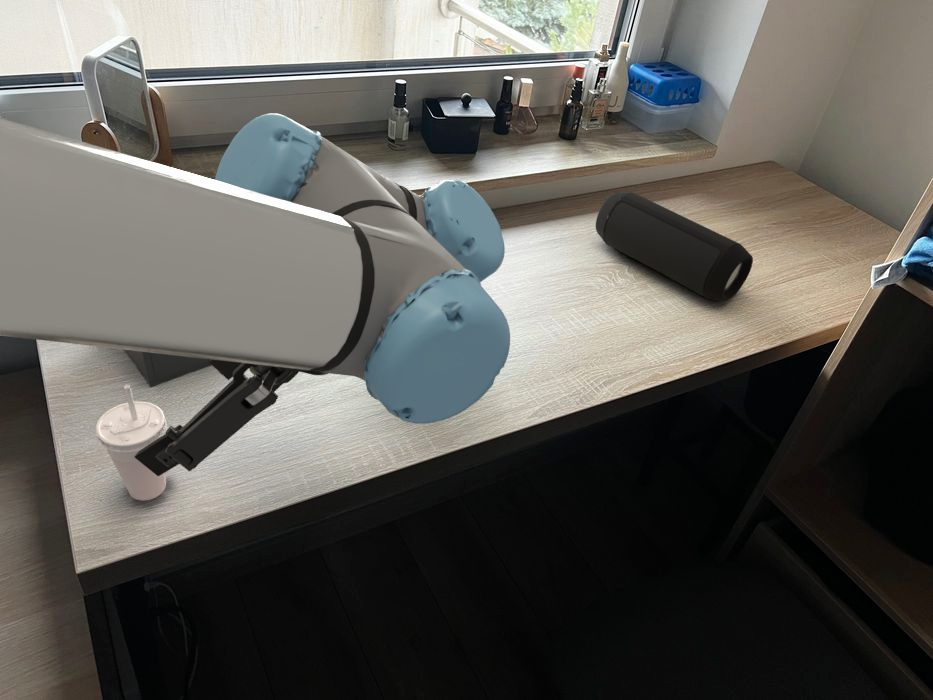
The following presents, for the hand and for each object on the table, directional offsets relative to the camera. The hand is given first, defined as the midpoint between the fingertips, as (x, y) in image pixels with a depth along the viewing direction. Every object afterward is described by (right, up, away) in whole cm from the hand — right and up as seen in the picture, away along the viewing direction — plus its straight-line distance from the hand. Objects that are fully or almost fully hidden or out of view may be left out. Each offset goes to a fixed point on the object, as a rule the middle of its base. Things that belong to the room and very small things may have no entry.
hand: (186, 412), depth 69 cm
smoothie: (-7, -9, +9) cm, 14 cm away
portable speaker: (+60, +20, +55) cm, 84 cm away
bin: (-11, +7, +28) cm, 31 cm away
